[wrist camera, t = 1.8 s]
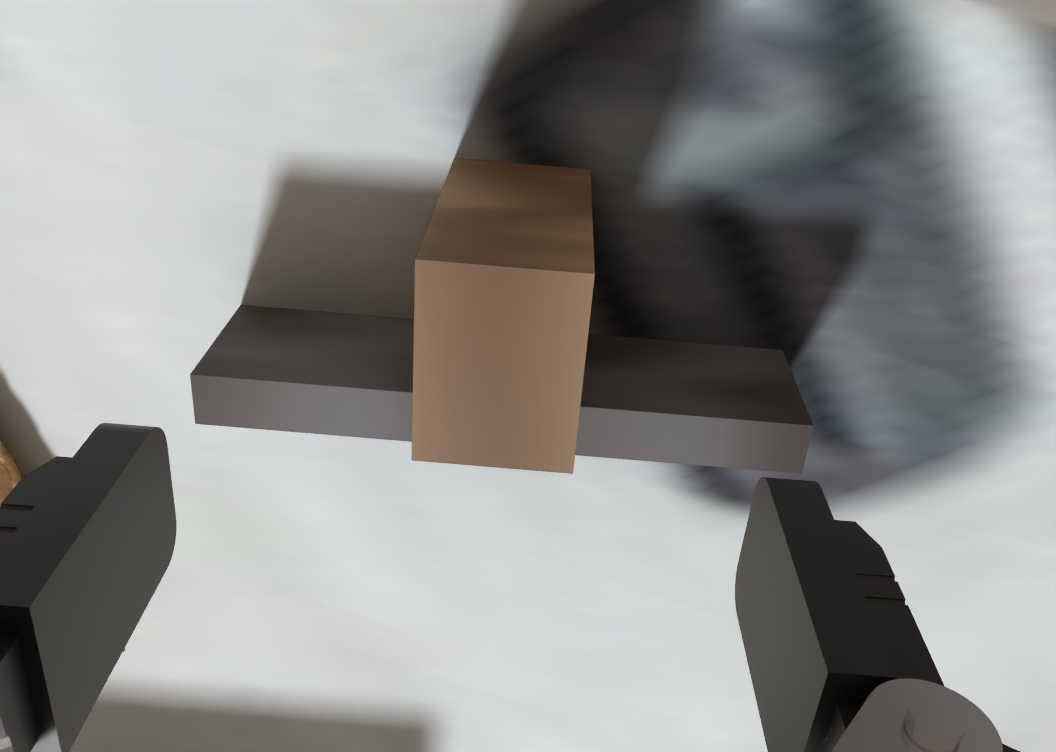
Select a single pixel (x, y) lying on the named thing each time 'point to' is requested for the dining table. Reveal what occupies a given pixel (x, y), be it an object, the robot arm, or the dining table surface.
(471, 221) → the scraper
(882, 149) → the dining table surface
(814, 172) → the dining table surface
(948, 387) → the dining table surface
